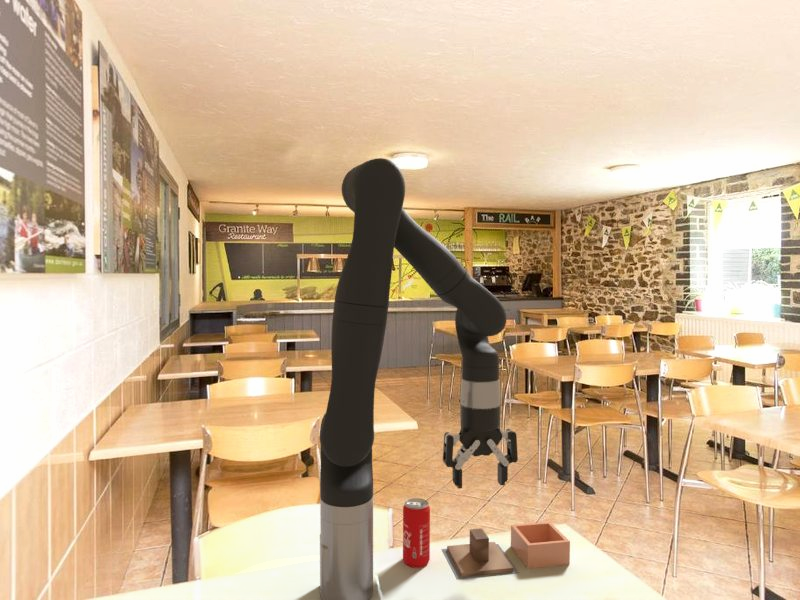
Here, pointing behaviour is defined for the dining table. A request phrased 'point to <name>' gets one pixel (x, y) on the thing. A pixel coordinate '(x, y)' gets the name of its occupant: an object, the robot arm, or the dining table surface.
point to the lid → (479, 556)
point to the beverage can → (416, 532)
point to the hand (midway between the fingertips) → (480, 485)
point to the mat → (478, 575)
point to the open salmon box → (540, 544)
